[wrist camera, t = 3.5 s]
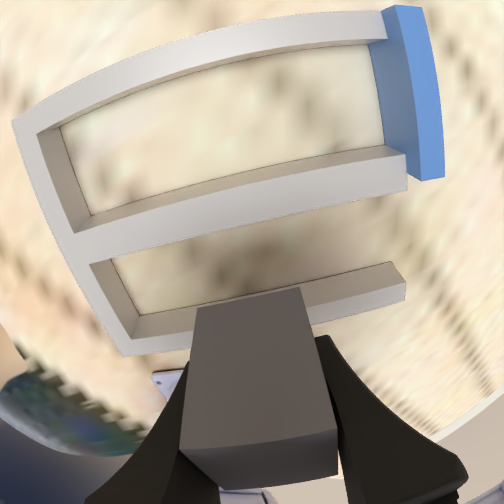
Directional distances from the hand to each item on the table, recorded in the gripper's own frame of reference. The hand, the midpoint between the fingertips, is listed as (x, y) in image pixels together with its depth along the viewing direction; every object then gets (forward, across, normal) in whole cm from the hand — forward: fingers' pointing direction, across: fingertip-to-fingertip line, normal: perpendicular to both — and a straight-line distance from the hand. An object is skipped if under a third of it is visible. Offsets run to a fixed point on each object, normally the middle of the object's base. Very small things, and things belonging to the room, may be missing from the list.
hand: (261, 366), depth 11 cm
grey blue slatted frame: (+9, 0, -4) cm, 10 cm away
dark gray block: (+2, 0, 0) cm, 2 cm away
